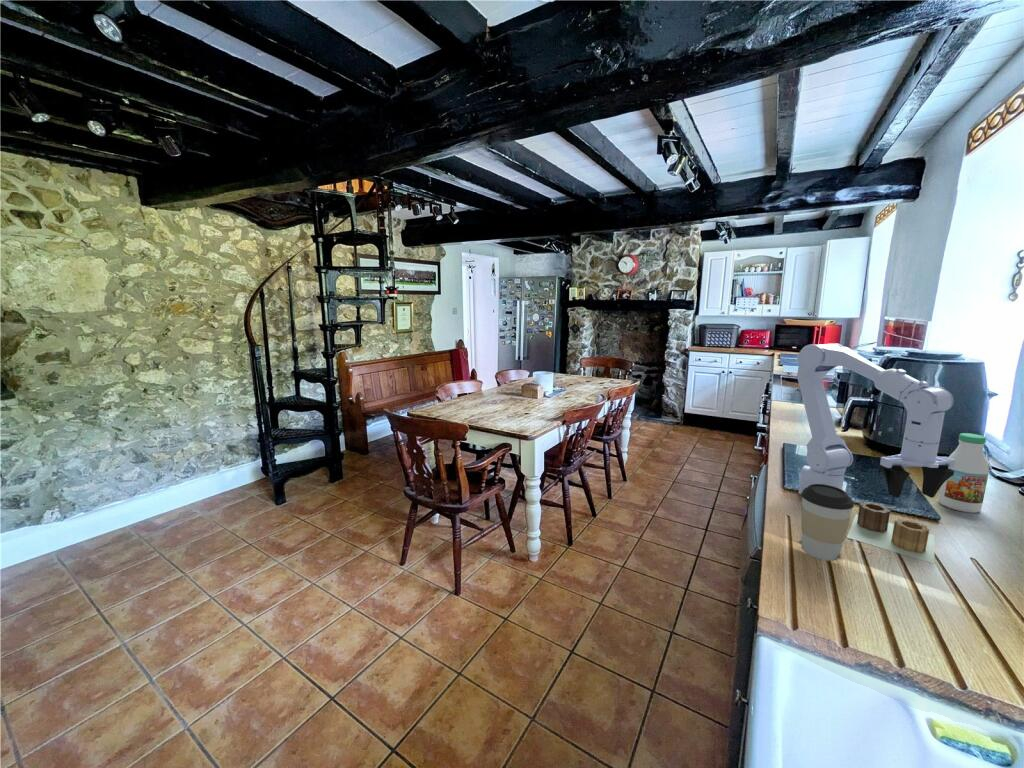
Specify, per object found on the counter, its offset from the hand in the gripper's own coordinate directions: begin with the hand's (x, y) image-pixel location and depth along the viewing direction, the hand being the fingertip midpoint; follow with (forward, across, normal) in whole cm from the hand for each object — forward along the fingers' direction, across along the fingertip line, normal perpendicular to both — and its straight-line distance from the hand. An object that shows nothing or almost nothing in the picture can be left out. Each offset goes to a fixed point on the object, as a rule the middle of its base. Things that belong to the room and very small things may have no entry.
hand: (910, 495), depth 93 cm
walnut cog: (+9, -6, +2) cm, 11 cm away
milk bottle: (+10, +26, +14) cm, 32 cm away
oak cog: (+9, -5, -6) cm, 12 cm away
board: (+10, -5, -3) cm, 12 cm away
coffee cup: (+10, -24, -7) cm, 27 cm away
